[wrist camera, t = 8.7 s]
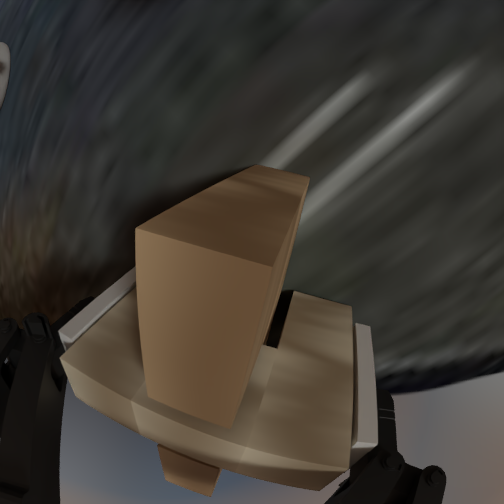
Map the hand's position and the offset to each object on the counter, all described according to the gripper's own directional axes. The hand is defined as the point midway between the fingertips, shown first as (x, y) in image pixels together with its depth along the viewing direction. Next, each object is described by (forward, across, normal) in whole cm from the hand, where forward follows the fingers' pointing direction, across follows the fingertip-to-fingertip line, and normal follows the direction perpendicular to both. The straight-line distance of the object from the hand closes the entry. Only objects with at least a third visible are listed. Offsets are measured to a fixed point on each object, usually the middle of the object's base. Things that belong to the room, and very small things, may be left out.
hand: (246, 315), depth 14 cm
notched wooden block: (+2, 0, 0) cm, 2 cm away
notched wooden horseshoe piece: (+2, 0, 0) cm, 2 cm away
